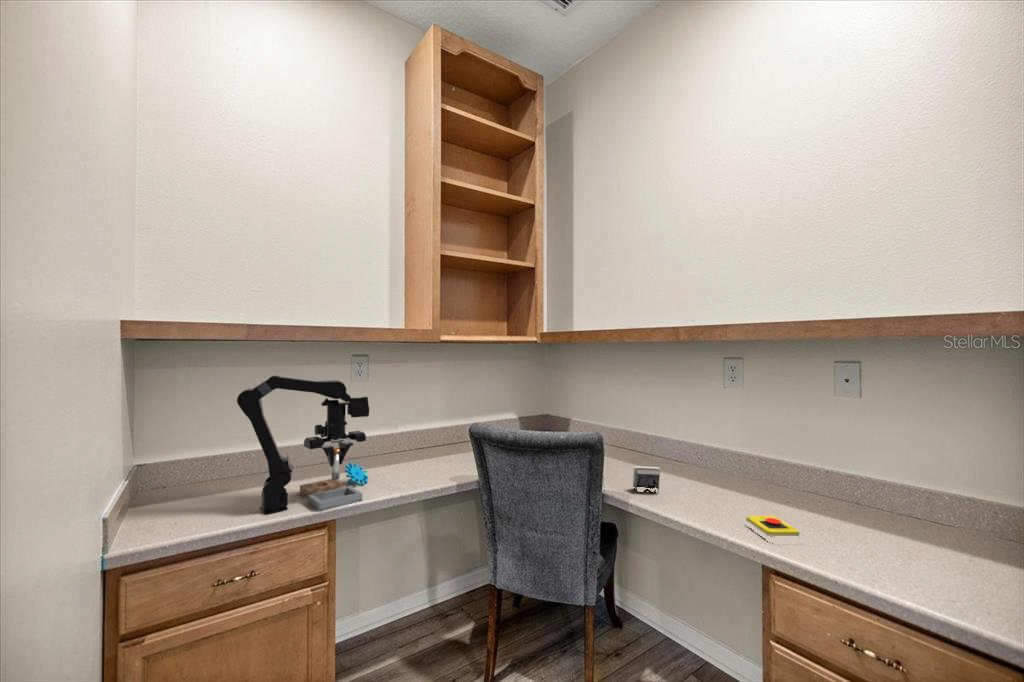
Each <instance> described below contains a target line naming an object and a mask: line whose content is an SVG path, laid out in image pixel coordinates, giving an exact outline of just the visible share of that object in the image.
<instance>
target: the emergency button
mask: <svg viewBox="0 0 1024 682" xmlns="http://www.w3.org/2000/svg"><path fill="white" fill-rule="evenodd" d="M746 521H747V522H749V523H750V524H752V525H753V526H754V527H756V528H757V529H758V530H760V531H761V532H763V533H764V534H766V535H767V536H770V537H773V536H774V537H775V536H799V537H800V531H799V530H798V529H796V528H794V527H793V526H792V525H790V524H788V523H787V522H785V521H783V520H782V519H780V518H779V517H778V516H775V515H747V516H746V518H745V522H746Z"/></svg>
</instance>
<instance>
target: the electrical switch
mask: <svg viewBox="0 0 1024 682" xmlns="http://www.w3.org/2000/svg"><path fill="white" fill-rule="evenodd" d="M660 475H661V468H660V467H657V466H638V465H637V466H636V465H635V466H634V467H633V474H632V488H633V487H635V488H636V490H637V487H645V488H650V489H651V488H652V489H653V488H655V487H656V488H657V489H658V491H659V490H660ZM636 490H635V491H636Z"/></svg>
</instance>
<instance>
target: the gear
mask: <svg viewBox="0 0 1024 682" xmlns="http://www.w3.org/2000/svg"><path fill="white" fill-rule="evenodd" d="M358 466H359V464H358V463H357V462H355V463H353V462H349V464H347V465H346V466H345V469H344V473H347V474H346V478H350V479H348V480H347V484H351V483H354V482H355V486H359V485H361V486H364V485H366V484H367V483H368V482H369V480H368V479H369V475H367V474H368V472H369V470H368V469H365V470H363V469H364V467H363V466H361V465H360V466H359V467H358Z"/></svg>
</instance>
